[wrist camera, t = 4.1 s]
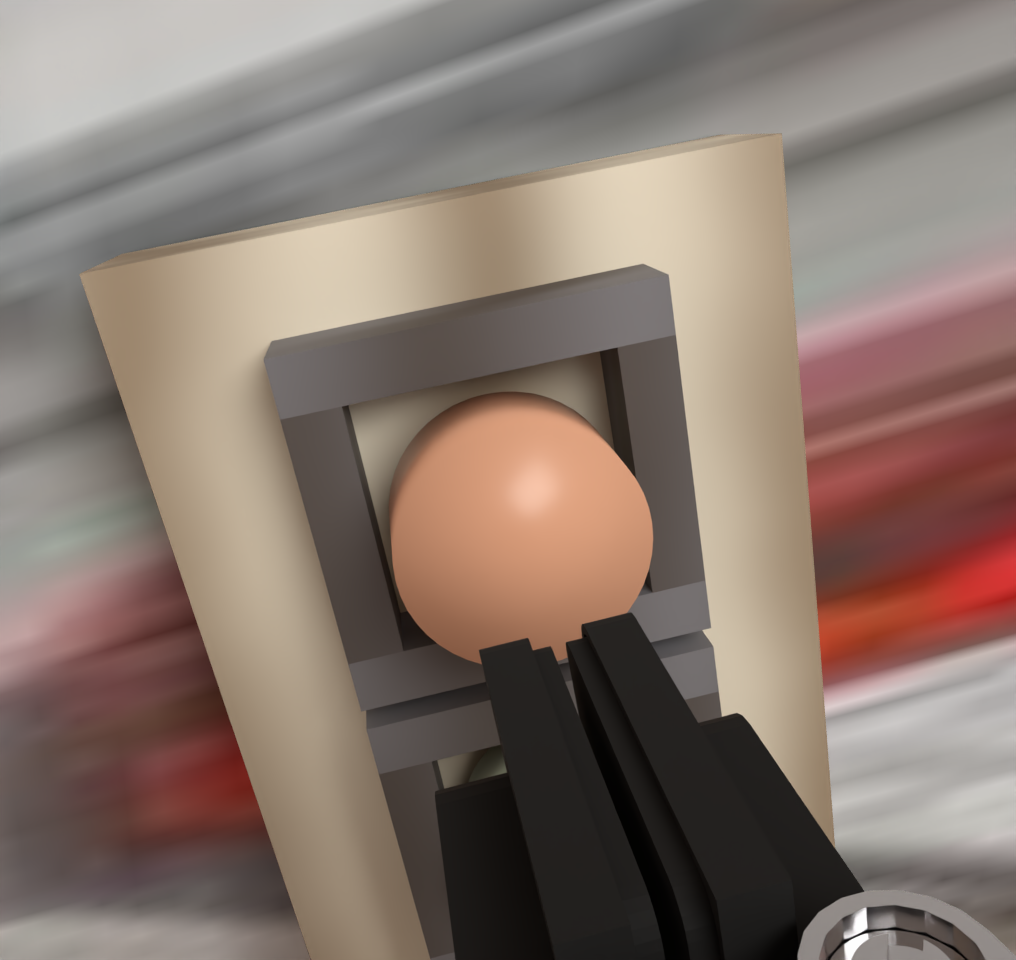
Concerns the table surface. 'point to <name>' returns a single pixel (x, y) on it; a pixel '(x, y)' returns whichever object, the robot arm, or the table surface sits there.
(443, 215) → the button board
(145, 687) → the table surface
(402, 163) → the table surface
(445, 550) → the button terracotta
